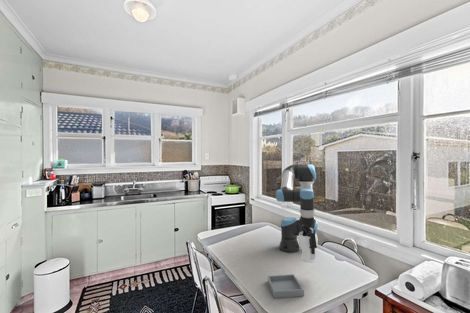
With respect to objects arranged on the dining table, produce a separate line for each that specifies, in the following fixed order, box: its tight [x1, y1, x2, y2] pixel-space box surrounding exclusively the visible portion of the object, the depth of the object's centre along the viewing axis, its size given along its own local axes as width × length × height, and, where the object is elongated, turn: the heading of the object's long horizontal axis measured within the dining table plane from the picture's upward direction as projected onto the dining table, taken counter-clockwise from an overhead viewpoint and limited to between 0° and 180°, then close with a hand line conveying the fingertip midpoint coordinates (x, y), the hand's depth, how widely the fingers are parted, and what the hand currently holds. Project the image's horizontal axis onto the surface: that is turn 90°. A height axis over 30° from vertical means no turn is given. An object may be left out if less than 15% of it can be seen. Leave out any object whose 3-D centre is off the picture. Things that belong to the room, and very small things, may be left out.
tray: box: [267, 273, 305, 299], centre depth 122 cm, size 15×15×3 cm
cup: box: [297, 231, 319, 264], centre depth 130 cm, size 11×11×15 cm
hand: (308, 254), depth 130 cm, fingers closed on cup, 11 cm apart
